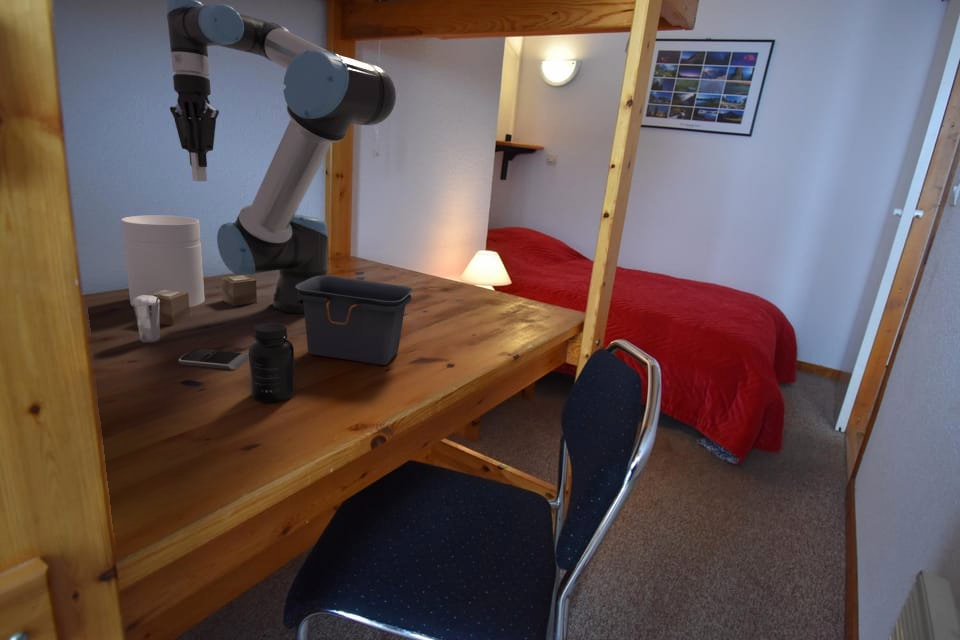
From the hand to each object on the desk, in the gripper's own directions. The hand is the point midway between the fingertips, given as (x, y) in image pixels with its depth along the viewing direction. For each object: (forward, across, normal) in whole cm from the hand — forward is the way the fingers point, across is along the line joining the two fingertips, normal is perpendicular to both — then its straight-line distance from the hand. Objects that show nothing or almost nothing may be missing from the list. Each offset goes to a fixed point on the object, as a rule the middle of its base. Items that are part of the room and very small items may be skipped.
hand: (199, 180), depth 129 cm
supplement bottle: (+31, +52, -35) cm, 70 cm away
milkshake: (+30, +16, -28) cm, 44 cm away
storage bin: (+31, +53, -13) cm, 63 cm away
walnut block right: (+30, +8, +2) cm, 31 cm away
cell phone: (+31, +34, -30) cm, 55 cm away
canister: (+29, -5, -8) cm, 31 cm away
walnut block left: (+30, +7, -18) cm, 35 cm away
